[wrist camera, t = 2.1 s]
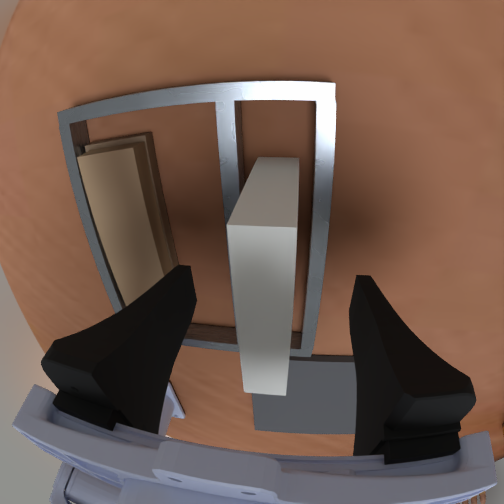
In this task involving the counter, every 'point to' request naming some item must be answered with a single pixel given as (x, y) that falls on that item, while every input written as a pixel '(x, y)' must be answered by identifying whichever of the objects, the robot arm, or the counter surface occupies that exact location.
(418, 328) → the counter surface
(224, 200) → the rack
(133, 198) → the offcut stack
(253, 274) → the gray rectangular block
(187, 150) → the counter surface
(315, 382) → the mat
